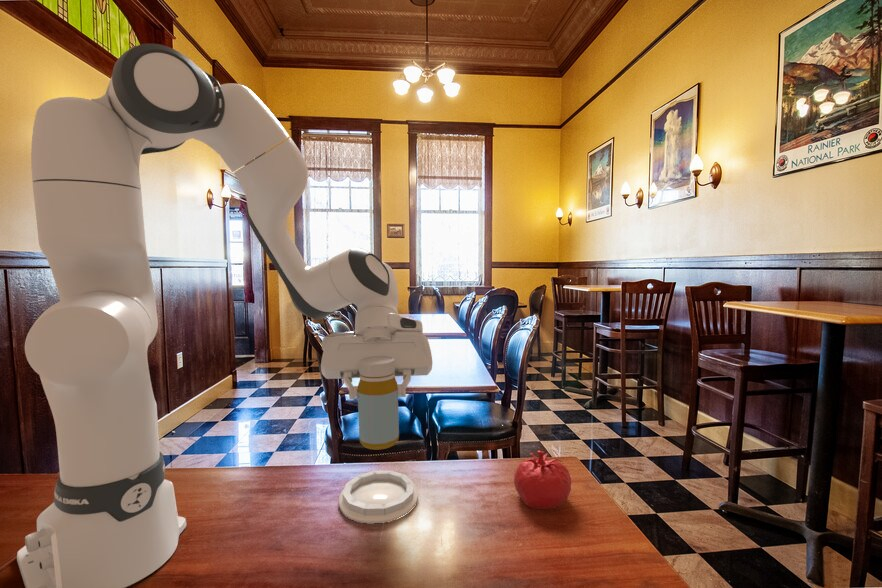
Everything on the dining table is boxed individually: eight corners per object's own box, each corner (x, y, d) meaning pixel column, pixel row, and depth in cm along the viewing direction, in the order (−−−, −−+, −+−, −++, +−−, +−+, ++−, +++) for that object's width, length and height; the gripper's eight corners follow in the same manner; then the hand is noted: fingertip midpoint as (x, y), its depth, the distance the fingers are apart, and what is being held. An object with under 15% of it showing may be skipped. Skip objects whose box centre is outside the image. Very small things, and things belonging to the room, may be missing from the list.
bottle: (392, 452, 71) (389, 365, 69) (353, 449, 72) (350, 364, 71) (403, 435, 77) (401, 355, 76) (368, 432, 79) (365, 354, 77)
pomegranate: (578, 516, 71) (581, 465, 70) (520, 517, 71) (522, 465, 70) (559, 483, 81) (561, 438, 80) (508, 484, 81) (510, 438, 80)
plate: (322, 509, 73) (321, 497, 73) (371, 472, 85) (371, 462, 85) (388, 534, 66) (388, 521, 66) (431, 490, 79) (431, 479, 78)
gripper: (321, 323, 78) (314, 391, 69) (429, 321, 81) (436, 385, 72) (324, 342, 83) (318, 407, 74) (427, 339, 86) (433, 402, 77)
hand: (377, 396), depth 73 cm, fingers closed on bottle, 7 cm apart
